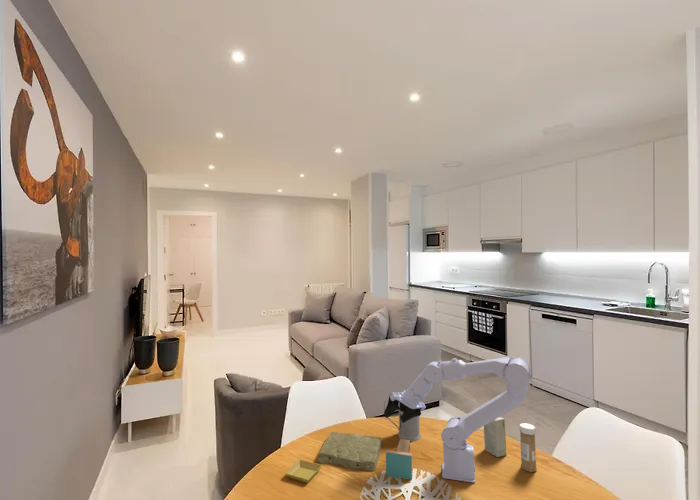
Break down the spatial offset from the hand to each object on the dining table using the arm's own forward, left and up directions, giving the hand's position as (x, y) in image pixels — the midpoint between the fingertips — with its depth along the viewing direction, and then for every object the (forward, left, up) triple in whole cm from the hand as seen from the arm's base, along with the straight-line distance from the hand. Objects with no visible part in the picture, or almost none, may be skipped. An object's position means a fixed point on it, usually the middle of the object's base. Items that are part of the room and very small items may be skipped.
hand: (393, 417), depth 118 cm
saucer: (+26, +18, -13) cm, 34 cm away
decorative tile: (+15, +2, -14) cm, 20 cm away
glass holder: (-1, -16, -13) cm, 21 cm away
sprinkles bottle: (-43, -4, -13) cm, 45 cm away
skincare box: (-34, -12, -13) cm, 38 cm away
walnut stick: (-3, 0, -13) cm, 13 cm away
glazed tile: (-3, +11, -13) cm, 17 cm away
